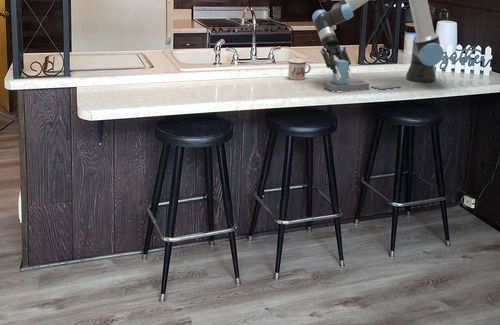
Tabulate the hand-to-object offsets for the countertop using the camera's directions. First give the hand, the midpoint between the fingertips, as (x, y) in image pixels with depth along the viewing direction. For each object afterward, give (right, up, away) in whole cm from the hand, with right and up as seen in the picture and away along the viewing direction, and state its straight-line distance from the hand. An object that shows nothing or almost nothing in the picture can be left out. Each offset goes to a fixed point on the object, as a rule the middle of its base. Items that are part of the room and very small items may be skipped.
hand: (344, 78), depth 310 cm
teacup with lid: (-20, +3, +27) cm, 34 cm away
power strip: (+2, -4, +7) cm, 8 cm away
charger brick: (-2, -2, +4) cm, 5 cm away
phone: (+22, -4, +11) cm, 25 cm away
